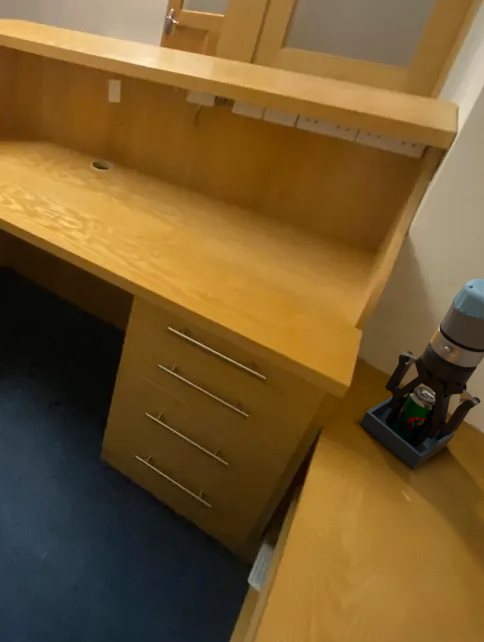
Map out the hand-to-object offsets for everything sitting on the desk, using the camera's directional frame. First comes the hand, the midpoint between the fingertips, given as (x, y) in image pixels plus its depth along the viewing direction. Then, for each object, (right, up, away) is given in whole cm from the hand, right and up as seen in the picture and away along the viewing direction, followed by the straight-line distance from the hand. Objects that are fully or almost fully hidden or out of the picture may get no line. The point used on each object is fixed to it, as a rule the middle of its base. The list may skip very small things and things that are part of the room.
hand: (404, 430), depth 105 cm
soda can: (0, -1, 0) cm, 1 cm away
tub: (0, -1, +1) cm, 1 cm away
